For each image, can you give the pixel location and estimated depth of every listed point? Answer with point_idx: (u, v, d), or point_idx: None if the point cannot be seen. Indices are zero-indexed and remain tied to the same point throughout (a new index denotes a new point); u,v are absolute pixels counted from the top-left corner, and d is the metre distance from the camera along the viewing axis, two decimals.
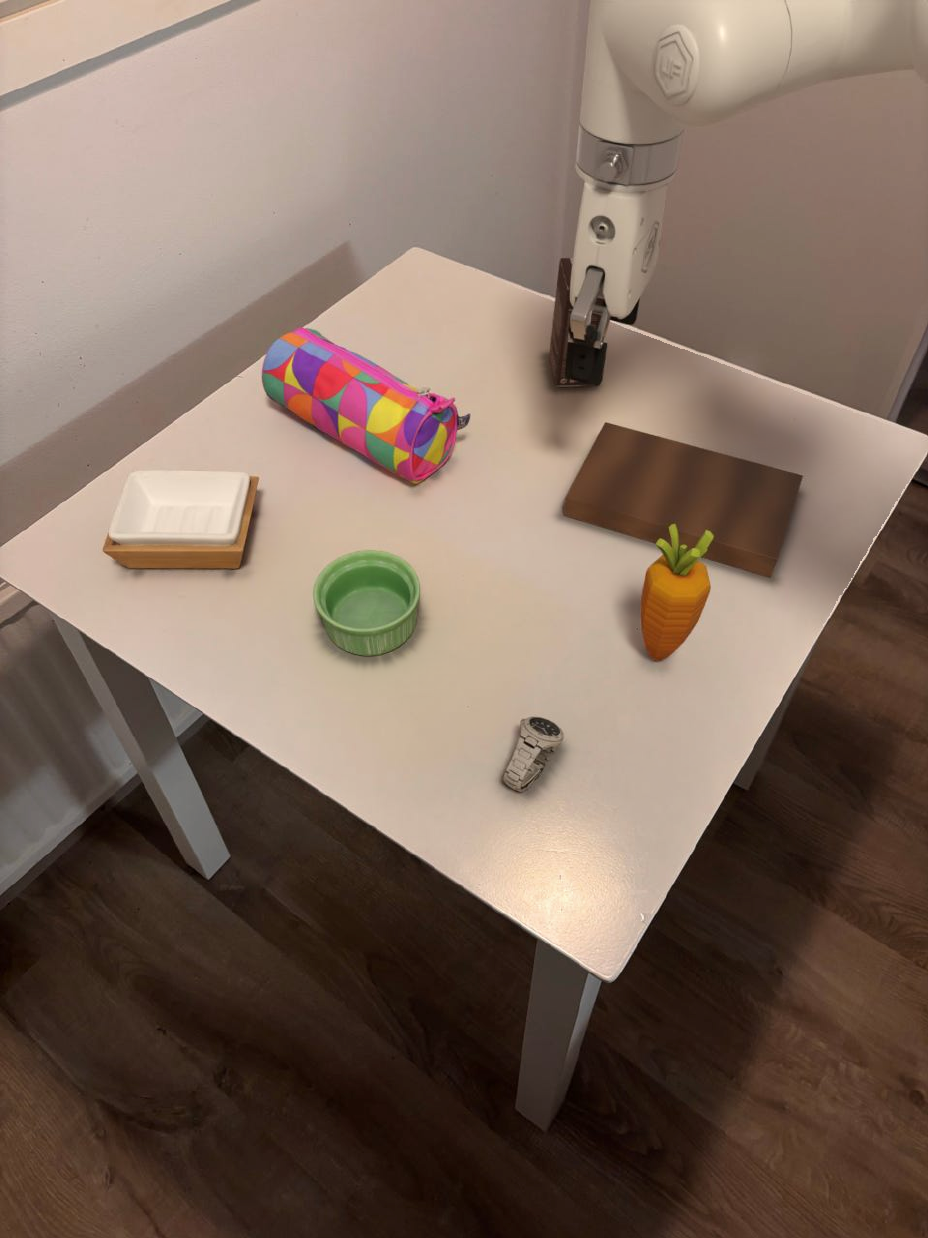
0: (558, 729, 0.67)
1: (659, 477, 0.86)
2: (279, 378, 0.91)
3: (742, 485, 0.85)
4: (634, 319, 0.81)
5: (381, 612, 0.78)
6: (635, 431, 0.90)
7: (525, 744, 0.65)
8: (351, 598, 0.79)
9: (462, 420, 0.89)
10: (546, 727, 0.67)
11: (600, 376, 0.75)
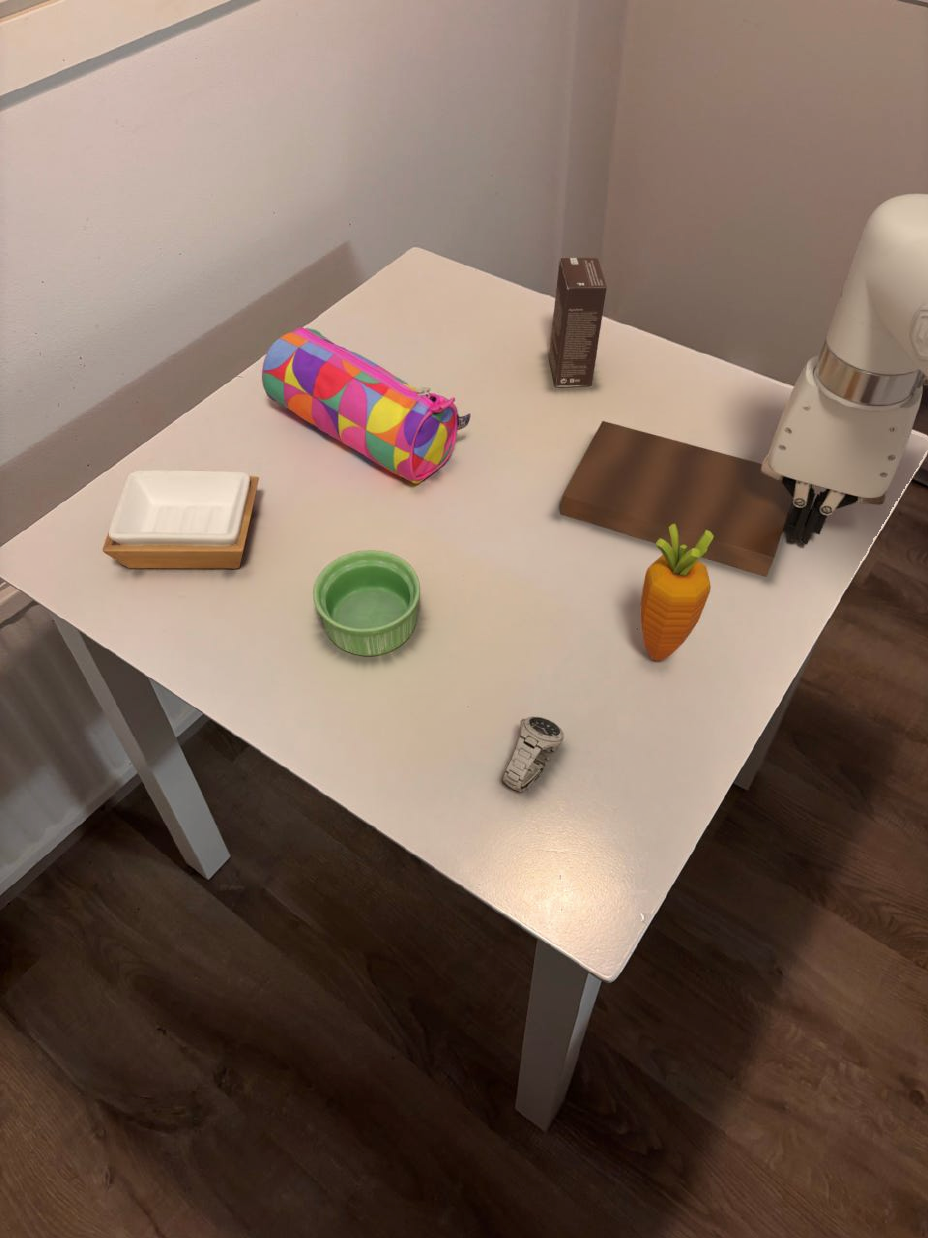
0: (558, 729, 0.67)
1: (656, 476, 0.86)
2: (279, 378, 0.91)
3: (739, 484, 0.86)
4: None
5: (381, 612, 0.78)
6: (632, 430, 0.91)
7: (525, 744, 0.65)
8: (351, 598, 0.79)
9: (463, 420, 0.89)
10: (546, 727, 0.67)
11: None
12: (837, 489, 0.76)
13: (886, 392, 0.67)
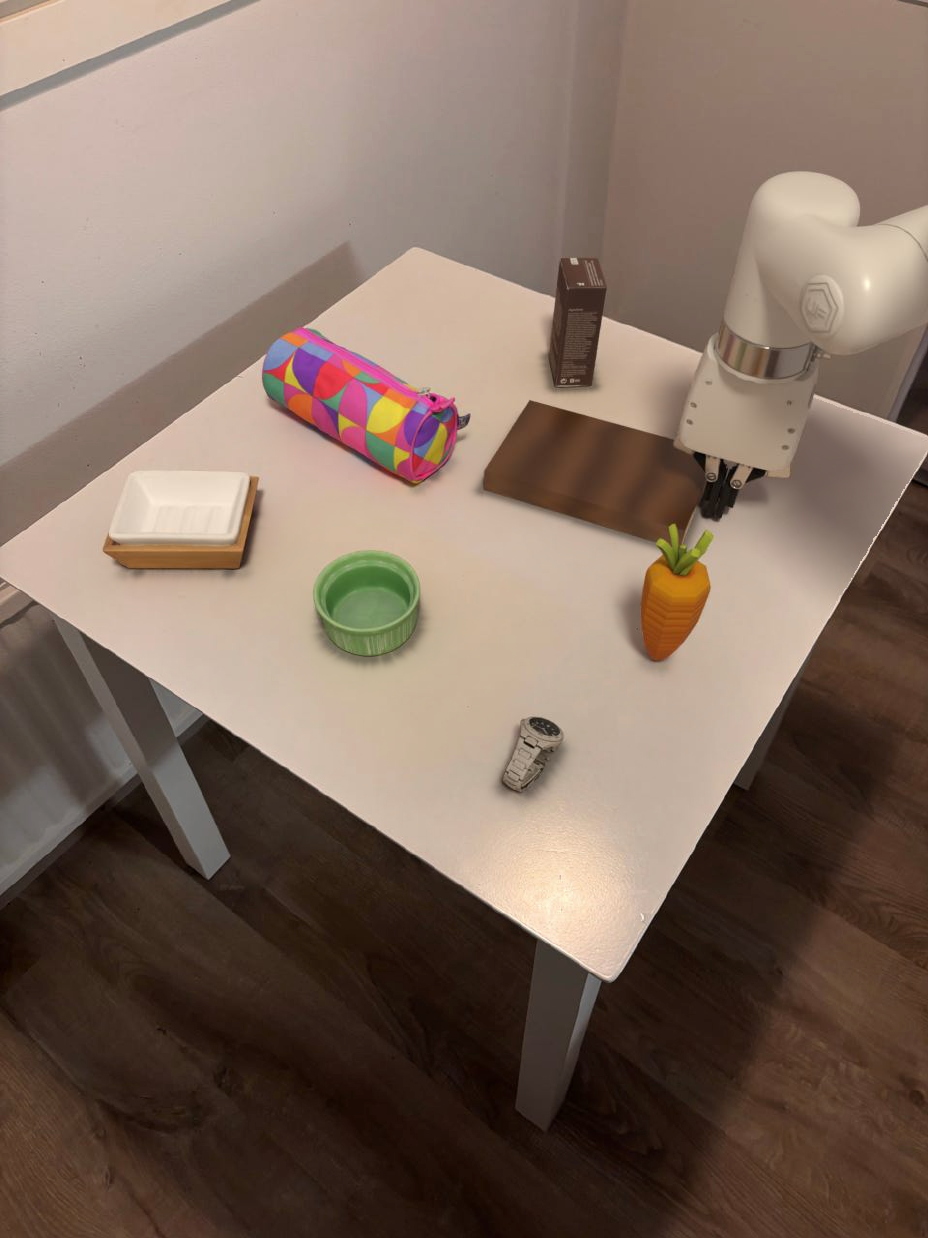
0: (558, 729, 0.67)
1: (577, 452, 0.88)
2: (279, 378, 0.91)
3: (657, 460, 0.88)
4: None
5: (381, 612, 0.78)
6: (558, 409, 0.93)
7: (525, 744, 0.65)
8: (351, 598, 0.79)
9: (463, 420, 0.89)
10: (546, 727, 0.67)
11: None
12: (744, 462, 0.79)
13: (779, 365, 0.69)
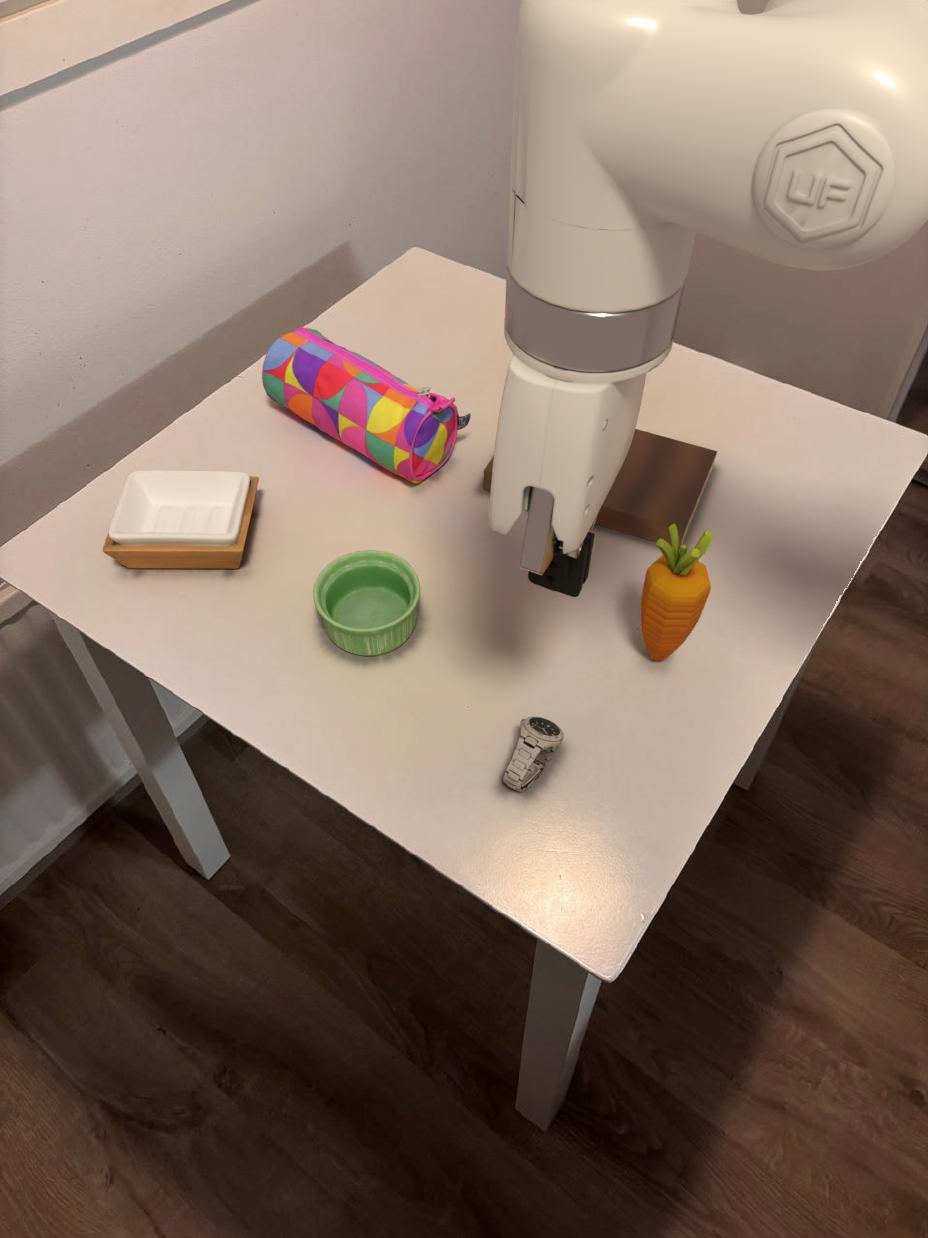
0: (558, 729, 0.67)
1: None
2: (279, 378, 0.91)
3: (657, 460, 0.88)
4: None
5: (381, 612, 0.78)
6: None
7: (525, 744, 0.65)
8: (351, 598, 0.79)
9: (463, 420, 0.89)
10: (546, 727, 0.67)
11: None
12: (613, 481, 0.47)
13: None
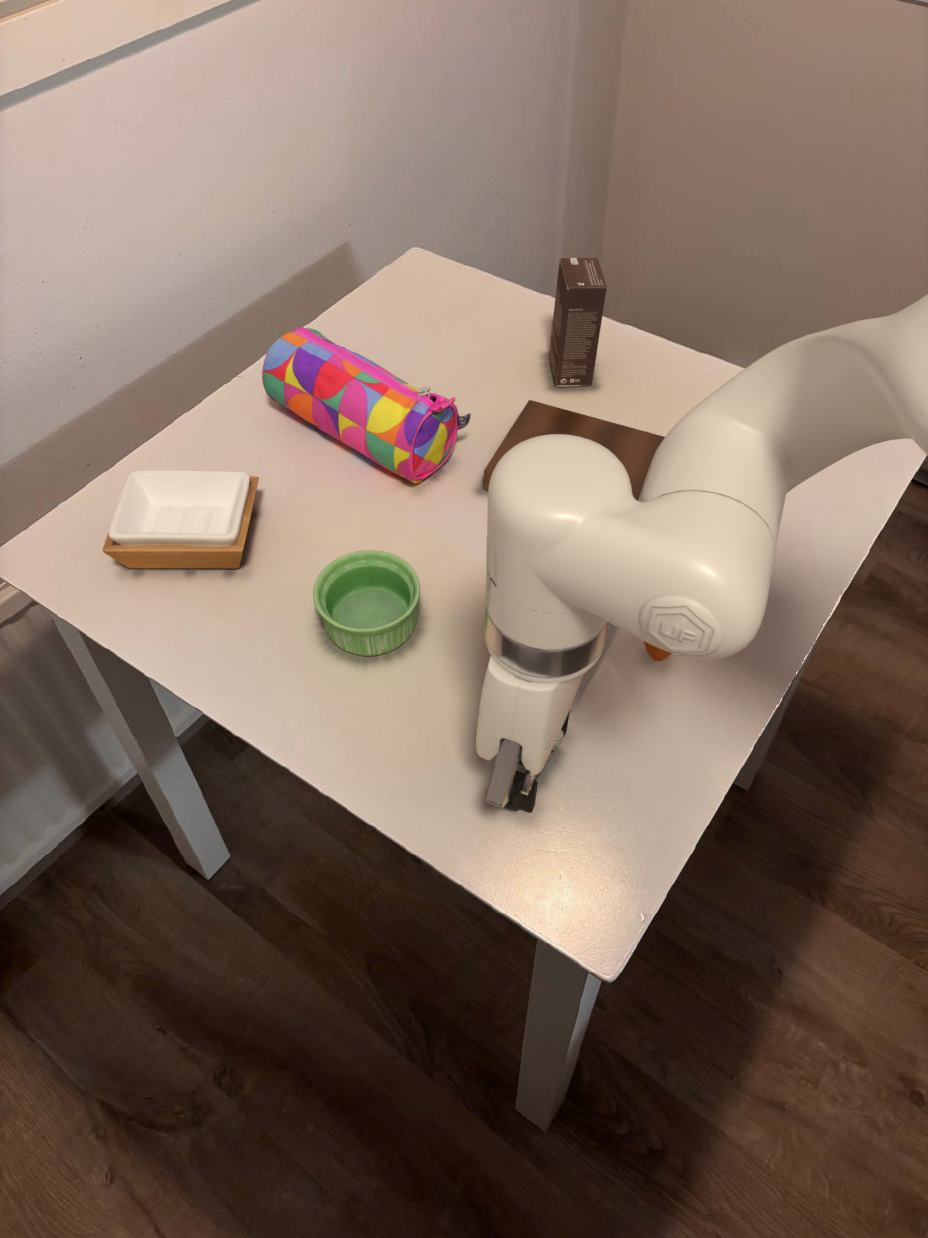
0: None
1: None
2: (279, 378, 0.91)
3: None
4: None
5: (381, 612, 0.78)
6: (557, 408, 0.93)
7: None
8: (351, 598, 0.79)
9: (463, 419, 0.89)
10: None
11: None
12: None
13: None
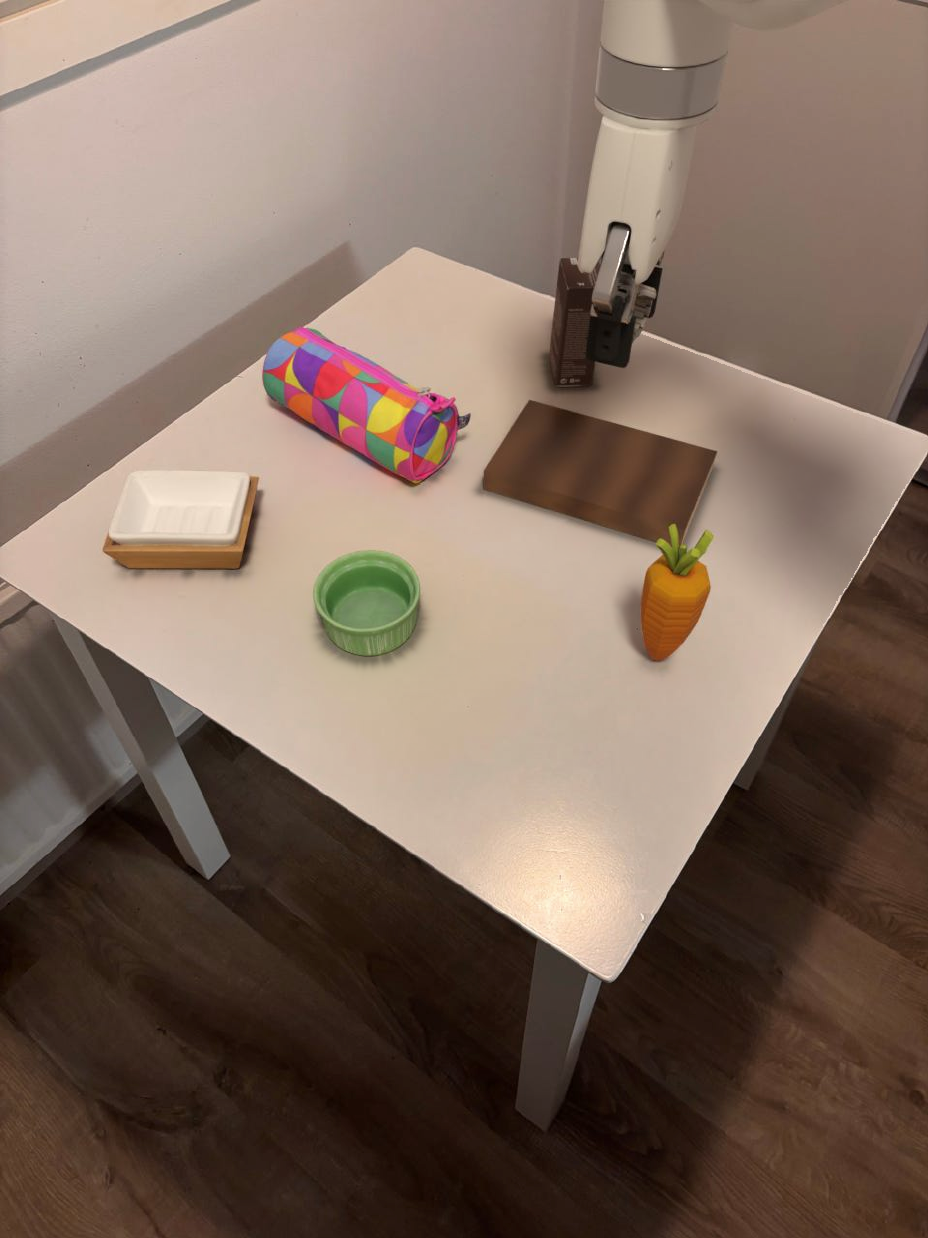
0: None
1: (577, 452, 0.88)
2: (279, 378, 0.91)
3: (657, 460, 0.88)
4: None
5: (381, 612, 0.78)
6: (557, 408, 0.93)
7: (620, 291, 0.65)
8: (351, 598, 0.79)
9: (463, 419, 0.89)
10: None
11: None
12: (667, 242, 0.63)
13: None
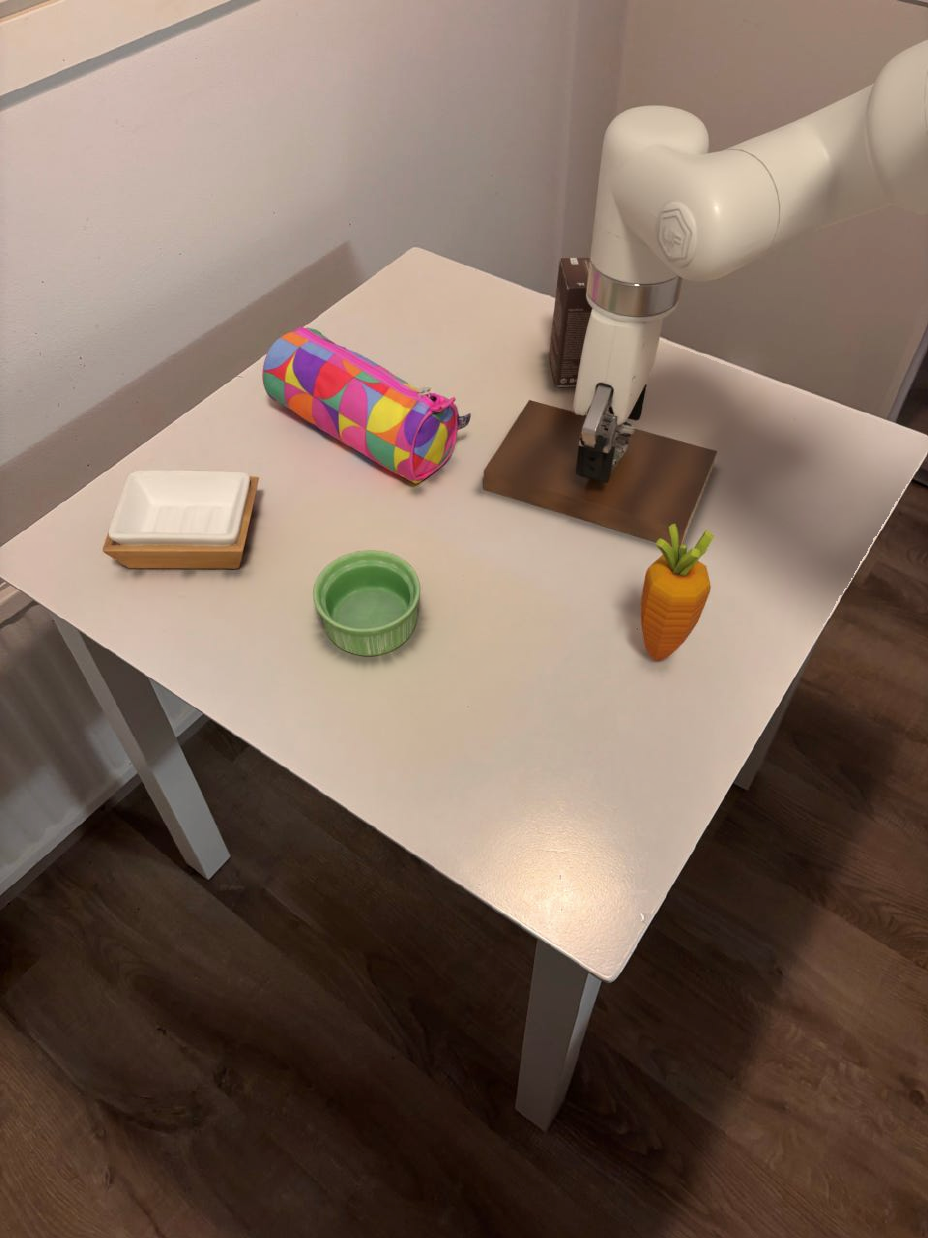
0: (630, 424, 0.85)
1: (576, 452, 0.88)
2: (279, 378, 0.91)
3: (657, 460, 0.88)
4: None
5: (381, 612, 0.78)
6: (557, 408, 0.93)
7: (605, 430, 0.83)
8: (351, 598, 0.79)
9: (463, 419, 0.89)
10: None
11: None
12: (643, 387, 0.81)
13: None
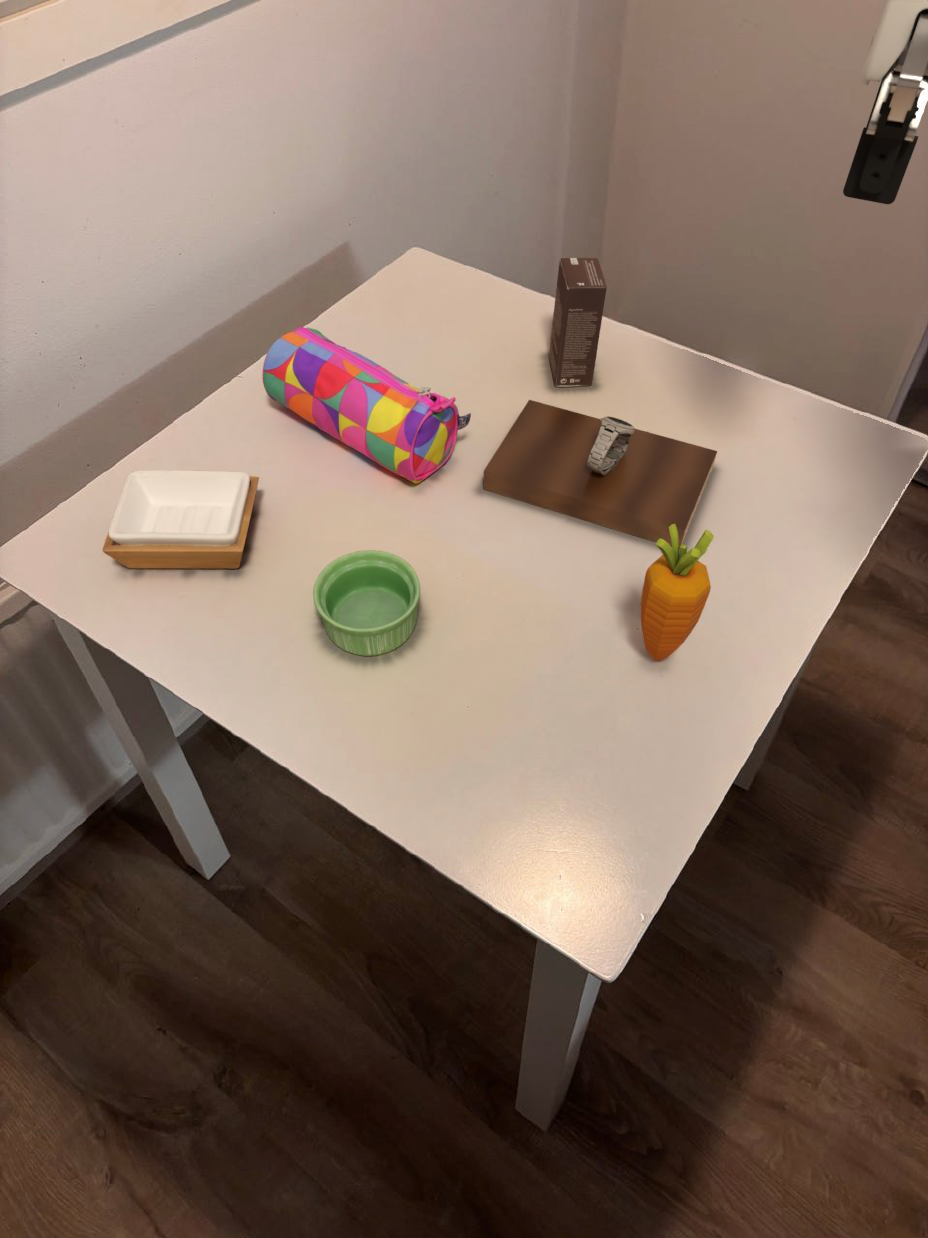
0: (630, 424, 0.85)
1: (577, 452, 0.88)
2: (279, 378, 0.91)
3: (657, 460, 0.88)
4: None
5: (381, 612, 0.78)
6: (557, 408, 0.93)
7: (605, 430, 0.83)
8: (351, 598, 0.79)
9: (463, 419, 0.89)
10: (620, 423, 0.85)
11: (871, 115, 0.63)
12: None
13: None
